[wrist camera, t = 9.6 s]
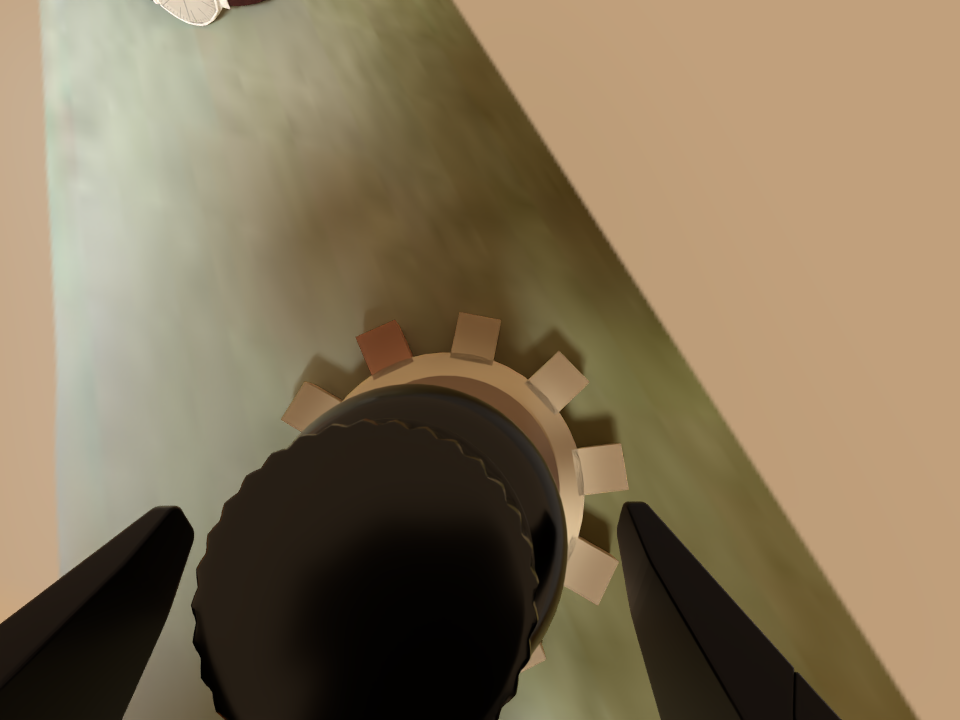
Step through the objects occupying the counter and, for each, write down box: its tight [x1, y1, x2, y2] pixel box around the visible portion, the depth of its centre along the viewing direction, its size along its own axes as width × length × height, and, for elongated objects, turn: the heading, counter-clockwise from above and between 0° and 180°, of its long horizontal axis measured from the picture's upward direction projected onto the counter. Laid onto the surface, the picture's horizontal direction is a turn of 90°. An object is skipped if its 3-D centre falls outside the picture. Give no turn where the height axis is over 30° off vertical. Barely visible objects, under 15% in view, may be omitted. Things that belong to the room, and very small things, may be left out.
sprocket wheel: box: [281, 312, 629, 673], centre depth 19 cm, size 14×14×1 cm
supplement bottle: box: [191, 384, 568, 720], centre depth 12 cm, size 7×7×12 cm
